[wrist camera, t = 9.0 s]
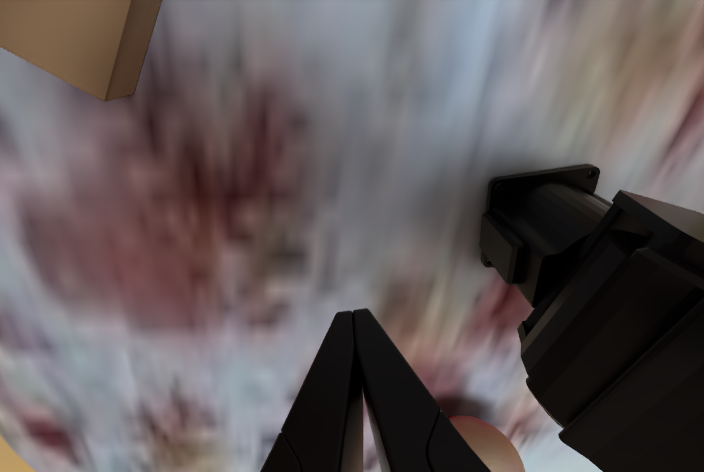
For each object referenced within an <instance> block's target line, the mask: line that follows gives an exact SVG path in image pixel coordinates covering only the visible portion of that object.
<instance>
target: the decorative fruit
mask: <svg viewBox="0 0 704 472" xmlns="http://www.w3.org/2000/svg"><path fill="white" fill-rule="evenodd" d="M448 418H449V420H450V421H451V422H452V424H453V425H454V427H455V428H456V429H457V430H458V432H459V433H460V434H461V436H462V437H463V438H464V439H465V441H466V442H467V443H468V445H469V446H470V447H471V448H472V450H473V451H474V452H475V453H476V454H477V455H478V457H479V458H480V459H481V460H482V461H483V462H484V464H485V465H486V466H487V467H488V468H489V469H490V470H491V472H525V469H524V466H523V463H522V460H521V458H520V456H519V454H518V452H517V450H516V449H515V447H514V446H513V444H512V443H511V442H510V441H509V440H508V438H507V437H506V436H505V435H504V434H502V433H501V432H500V431H499V430H498V429H497V428H495V427H494V426H492V425H490V424H489V423H487V422H485V421H483V420H480V419H478V418H475V417H472V416H449V417H448Z"/></svg>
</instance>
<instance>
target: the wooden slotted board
mask: <svg viewBox="0 0 704 472" xmlns="http://www.w3.org/2000/svg"><path fill="white" fill-rule="evenodd" d="M161 1H162V0H0V47H2V48H3V49H5V50H7V51H9V52H11V53H13V54H15V55H17V56H19V57H20V58H22V59H24V60H26V61H28V62H30V63H32V64H34V65H36V66H37V67H39V68H41V69H43V70H45V71H47V72H49V73H51V74H53V75H54V76H56V77H58V78H60V79H62V80H64V81H66V82H68V83H69V84H71V85H73V86H75V87H77V88H79V89H81V90H83V91H85V92H86V93H88V94H90V95H92V96H94V97H96V98H98V99H100V100H102V101H103V102H105V101H109V100H113V99H116V98H120V97H124V96H127V95H131V94H134V90H135V87H136V84H137V81H138V77H139V74H140V71H141V67H142V64H143V61H144V57H145V54H146V51H147V47H148V44H149V41H150V37H151V34H152V31H153V27H154V24H155V21H156V18H157V14H158V11H159V8H160V4H161Z"/></svg>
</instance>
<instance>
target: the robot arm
mask: <svg viewBox="0 0 704 472" xmlns="http://www.w3.org/2000/svg"><path fill="white" fill-rule="evenodd" d="M590 171H591V173H590V175H588V173H589V172H590ZM587 175H588V176H587ZM599 175H600V170H599V168H597V167H596V166H593V165H583V166H575V167H568V168H561V169H554V170H546V171H539V172H532V173H525V174H517V175H510V176H503V177H497V178H494V179H493V180H491V182H490V183H489V186H488V195H487V205H486V211H485V212H484V214H483V215H482V225H481V235H480V248H481V249H482V254H481V262H482V263H483V265H484V266H485V267H488V268H490V267H495V268H496V270H497V271H498V273H499V274H500V275H501V277H502V278H503V279H504V281H505V282H506V283H507V284H508V285H510V286H512V285H516V286H517V287H518V289H519V290H520V291H521V293H522V294H523V295H524V297H525V298H526V299H527V301H528V302H529V303H530V304H531V306H532V307H533V308H535V309H534V310H533V312H532V313H531V314H530V316H529V317H528V318H527V320H526V321H523V322H522V323H521V324H520V326H519V327H518V329H517V330H518V334H519V338H520V342H521V358H522V361H523V364H524V366H525V369H526V372H527V374H528V376H529V377H528V378H527V379H526V384H527V386H528V388H529V390H530V391H531V393H532V394H533V395H534V397H535V398H536V400H537V401H538V403H539V404H540V405H541V406H542V407H543V408H544V410H545V411H546V412H547V414H548V415H549V416H550V417H551V418H552V419H553V420H554V421H555V422H556V423H557V424H558V425H560V426H561V427H562V428H563V430H562V431H561V432H560V433H559V434H558V435H559V438H560V440H561V441H562V442H563V443H565V444H566V445H568V446H569V447H571V448H572V449H574V450H575V451H577V452H578V453H580V454H581V455H583V456H584V457H586V458H587V459H589V460H590V461H591V462H592V463H593V464H595V465H596V466H597V467H598V468H599V469H600V470H602V471H603V472H704V214H702V213H699V212H696V211H692V210H689V209H685V208H682V207H678V206H675V205H672V204H668V203H665V202H661V201H658V200H654V199H651V198H647V197H644V196H640V195H637V194H633V193H630V192H626V191H623V190H619V192H618V193H617V194H616V196H615V197H614V198H613V200H612V201H613V202H614V203H613V204H612V203H610V202H608V201H607V200H605V199H603V198H601V197H600V196H598V195H596V194H594V192H595V189H596V185H597V182H598V178H599ZM498 184H501V185H500V187H499V188H497V189H495V187H496V186H497V185H498ZM488 260H490V261H488ZM362 388H363V389H362ZM363 393H364V399H365V403H366V408H367V412H368V416H369V420H370V425H371V429H372V433H373V437H374V441H375V446H376V450H377V454H378V458H379V462H380V467H381V471H382V472H491V470H490V469H489V468H488V467H487V466H486V465H485V464H484V462H483V461H482V460H481V459H480V458H479V457H478V455H477V454H476V453H475V452H474V451H473V450H472V448H471V447H470V446H469V445H468V443H467V442H466V441H465V439H464V438H463V437H462V436H461V434H460V433H459V432H458V430H457V429H456V428H455V427H454V425H453V424H452V422H451V421H450V420H449V418H448V417H447V416H446V414H445V413H444V412H443V411H441V408H440V406H439V405H438V404H437V402H436V401H435V399H434V398H433V397H432V395H431V394H430V393H429V391H428V390H427V388H426V387H425V386H424V384H423V383H422V382H421V380H420V379H419V377H418V376H417V375H416V373H415V372H414V371H413V369H412V368H411V367H410V365H409V364H408V362H407V361H406V360H405V358H404V357H403V356H402V354H401V353H400V351H399V350H398V349H397V347H396V346H395V345H394V343H393V342H392V340H391V339H390V338H389V336H388V335H387V334H386V332H385V331H384V329H383V328H382V327H381V325H380V324H379V323H378V321H377V320H376V319H375V317H374V316H373V314H372V313H371V312H370V310H369V309H367V308H365V309H357V310H354V311H353V313H352V311H343V312H338V313H336V315H335V317H334V319H333V321H332V323H331V325H330V328H329V330H328V332H327V334H326V336H325V338H324V340H323V342H322V344H321V346H320V349H319V351H318V353H317V355H316V357H315V359H314V361H313V363H312V365H311V368H310V370H309V372H308V374H307V376H306V378H305V380H304V382H303V384H302V386H301V389H300V391H299V393H298V395H297V397H296V399H295V401H294V403H293V405H292V408H291V410H290V412H289V414H288V416H287V418H286V420H285V422H284V424H283V427H282V429H281V432H282V433H279V435H278V437H277V439H276V441H275V443H274V445H273V447H272V449H271V451H270V453H269V455H268V457H267V459H266V461H265V463H264V465H263V467H262V469H261V471H260V472H363Z"/></svg>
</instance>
